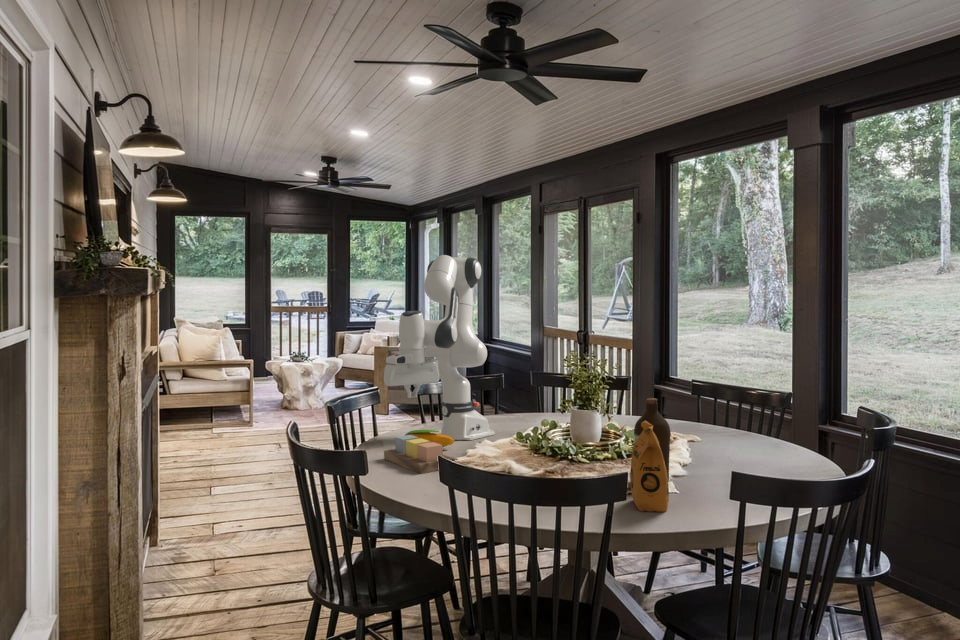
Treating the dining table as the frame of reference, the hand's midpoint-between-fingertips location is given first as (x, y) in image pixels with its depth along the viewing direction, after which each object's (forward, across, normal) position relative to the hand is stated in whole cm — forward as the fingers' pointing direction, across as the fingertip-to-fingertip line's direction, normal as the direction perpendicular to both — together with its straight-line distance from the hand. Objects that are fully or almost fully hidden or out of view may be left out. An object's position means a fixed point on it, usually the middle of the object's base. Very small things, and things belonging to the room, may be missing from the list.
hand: (412, 397), depth 246 cm
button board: (+22, 0, +3) cm, 22 cm away
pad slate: (+19, 0, -5) cm, 20 cm away
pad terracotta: (+20, 0, +11) cm, 23 cm away
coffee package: (+23, -26, +84) cm, 91 cm away
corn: (+22, -14, -13) cm, 29 cm away
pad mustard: (+19, 0, +3) cm, 20 cm away
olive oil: (+22, -45, +68) cm, 85 cm away
